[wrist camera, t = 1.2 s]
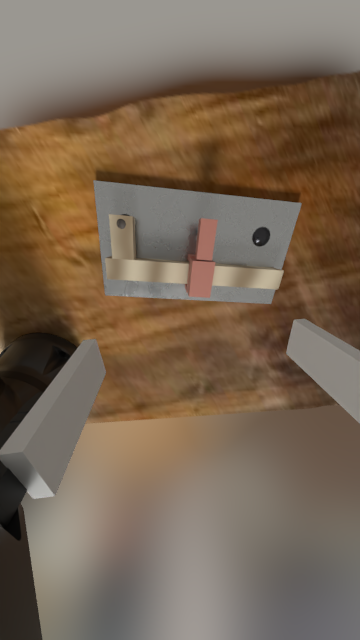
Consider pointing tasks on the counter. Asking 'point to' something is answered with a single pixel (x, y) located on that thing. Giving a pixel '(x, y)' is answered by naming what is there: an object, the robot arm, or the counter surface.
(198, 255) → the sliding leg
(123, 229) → the beam with fixed leg
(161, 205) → the steel plate
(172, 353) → the counter surface
